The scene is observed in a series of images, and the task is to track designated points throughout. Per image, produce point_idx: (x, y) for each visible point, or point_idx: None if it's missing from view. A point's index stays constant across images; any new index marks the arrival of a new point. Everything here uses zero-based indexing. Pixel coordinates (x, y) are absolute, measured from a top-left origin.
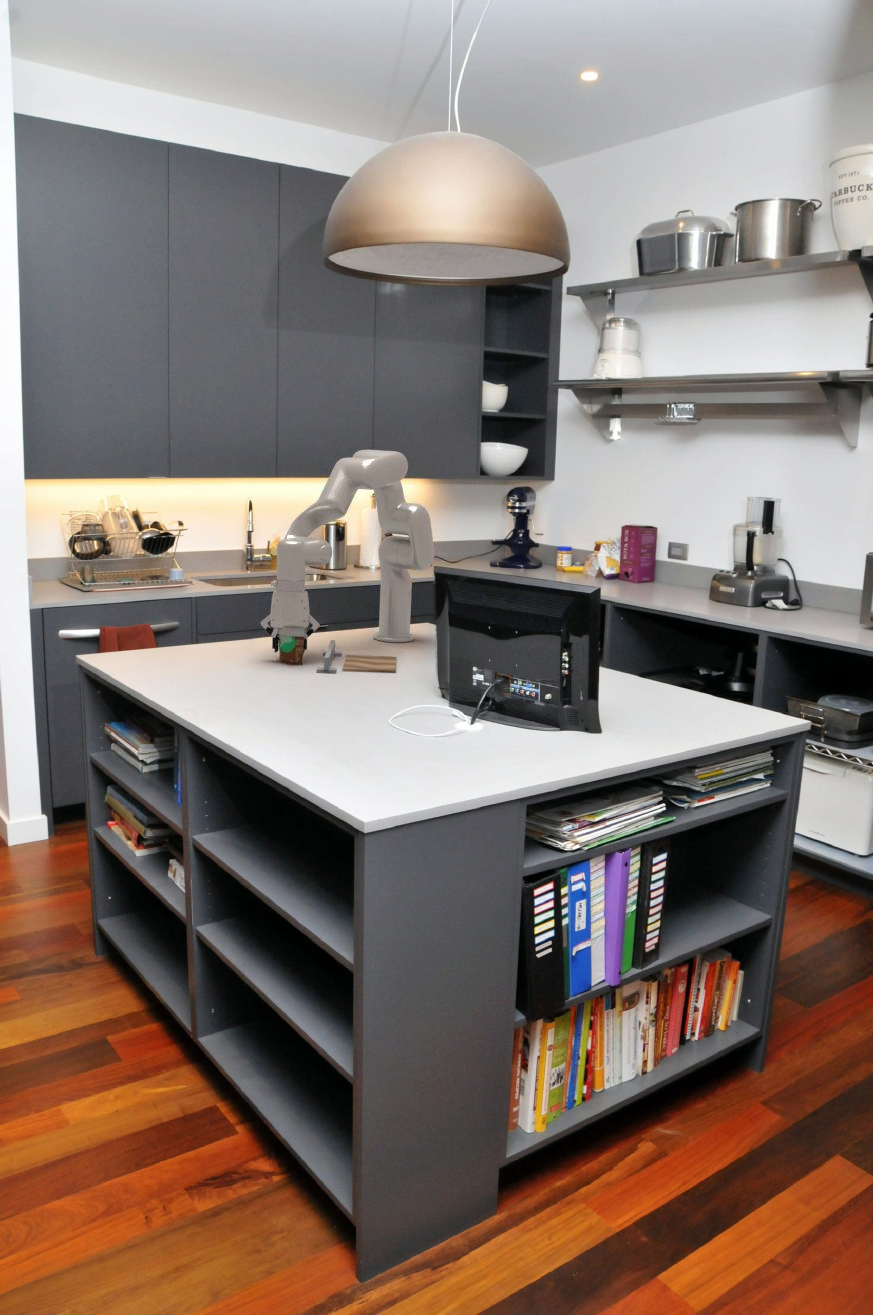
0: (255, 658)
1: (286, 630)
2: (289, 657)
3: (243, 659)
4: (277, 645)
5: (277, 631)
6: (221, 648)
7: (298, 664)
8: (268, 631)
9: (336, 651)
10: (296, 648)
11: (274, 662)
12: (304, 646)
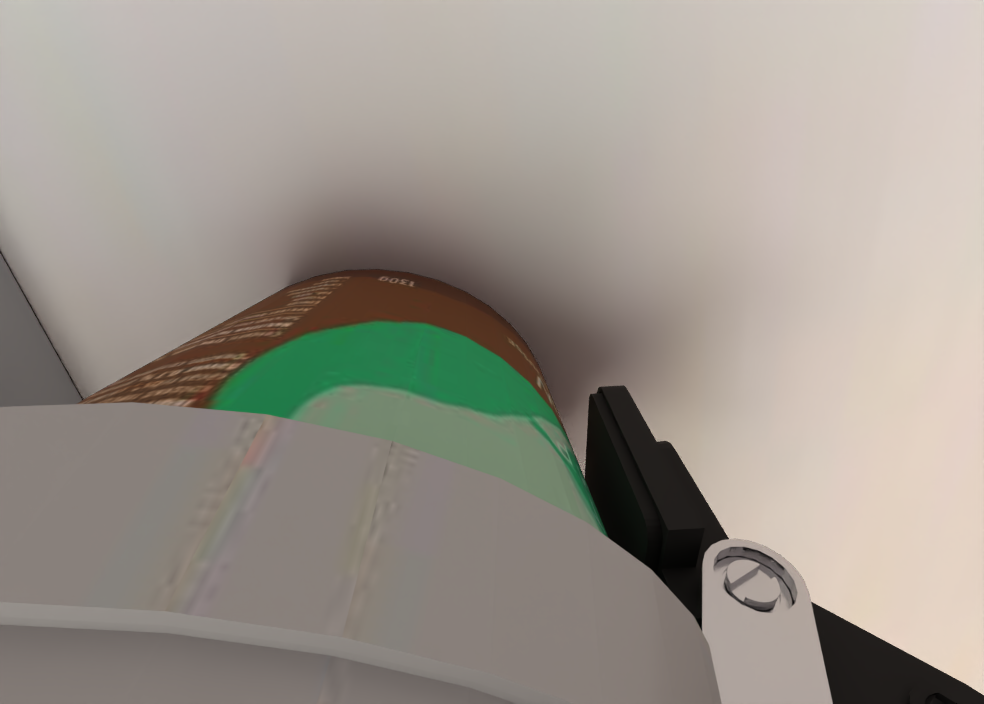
0: (768, 430)
1: (406, 630)
2: (418, 298)
3: (885, 372)
4: (609, 461)
5: (713, 681)
6: (969, 630)
7: (326, 275)
8: (910, 677)
9: None
10: (272, 333)
11: (590, 319)
12: None
